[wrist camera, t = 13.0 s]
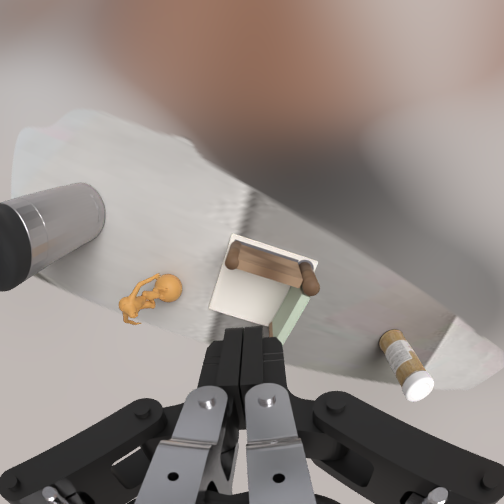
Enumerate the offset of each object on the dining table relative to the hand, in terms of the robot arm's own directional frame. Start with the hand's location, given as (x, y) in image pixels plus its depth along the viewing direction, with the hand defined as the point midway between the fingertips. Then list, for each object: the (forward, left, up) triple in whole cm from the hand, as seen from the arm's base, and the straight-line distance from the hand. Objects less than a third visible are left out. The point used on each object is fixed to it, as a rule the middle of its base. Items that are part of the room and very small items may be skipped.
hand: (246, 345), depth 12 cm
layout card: (-2, -10, -29) cm, 31 cm away
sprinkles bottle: (+18, -25, -30) cm, 43 cm away
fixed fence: (+1, -6, -29) cm, 30 cm away
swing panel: (+1, -14, -29) cm, 32 cm away
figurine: (-15, -7, -30) cm, 34 cm away
